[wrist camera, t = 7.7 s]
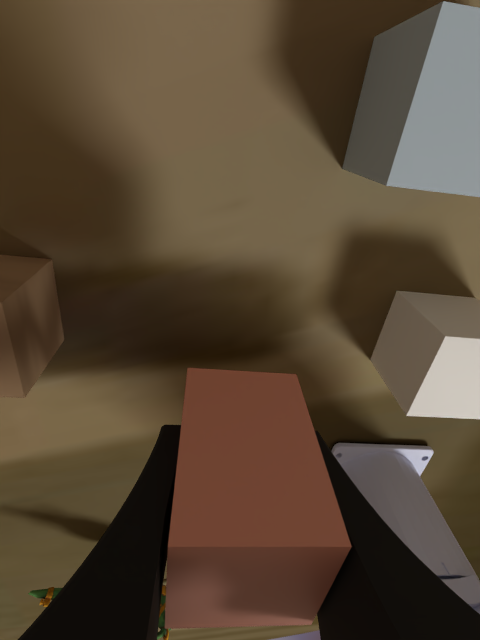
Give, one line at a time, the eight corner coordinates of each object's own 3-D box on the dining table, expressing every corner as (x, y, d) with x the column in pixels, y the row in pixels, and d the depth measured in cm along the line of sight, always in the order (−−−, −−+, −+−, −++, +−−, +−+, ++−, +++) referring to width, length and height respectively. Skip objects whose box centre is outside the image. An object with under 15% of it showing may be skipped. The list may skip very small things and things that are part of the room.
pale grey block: (440, 363, 23) (492, 419, 19) (369, 359, 23) (406, 415, 18) (474, 297, 21) (542, 343, 16) (395, 290, 20) (445, 336, 16)
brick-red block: (277, 447, 15) (311, 624, 10) (182, 444, 14) (164, 628, 9) (296, 374, 13) (351, 546, 8) (187, 367, 12) (167, 546, 7)
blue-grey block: (437, 180, 17) (512, 200, 13) (341, 168, 17) (386, 185, 12) (484, 56, 15) (596, 30, 10) (373, 37, 14) (443, 1, 10)
